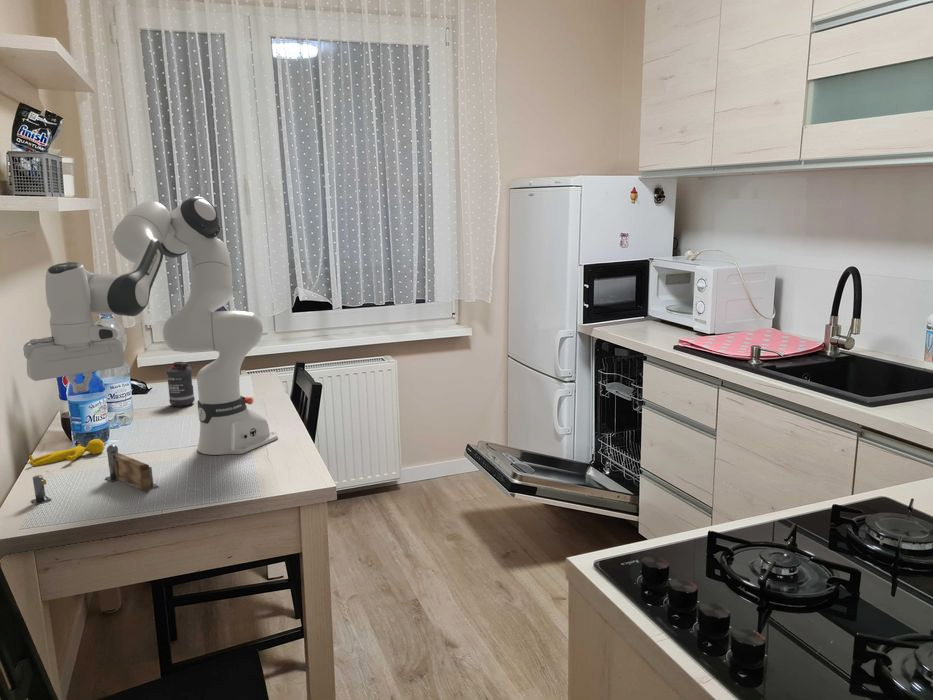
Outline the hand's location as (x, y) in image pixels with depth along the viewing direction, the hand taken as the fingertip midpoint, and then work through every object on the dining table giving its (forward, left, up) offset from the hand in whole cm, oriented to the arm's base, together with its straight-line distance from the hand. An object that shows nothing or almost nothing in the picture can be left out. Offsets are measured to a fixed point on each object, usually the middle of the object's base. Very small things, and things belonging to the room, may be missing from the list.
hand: (81, 391), depth 163 cm
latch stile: (+10, -4, -25) cm, 27 cm away
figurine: (-6, -29, -26) cm, 39 cm away
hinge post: (-7, -4, -25) cm, 26 cm away
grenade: (-52, -53, -25) cm, 78 cm away
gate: (-7, +5, -24) cm, 26 cm away
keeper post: (-9, +9, -25) cm, 28 cm away
